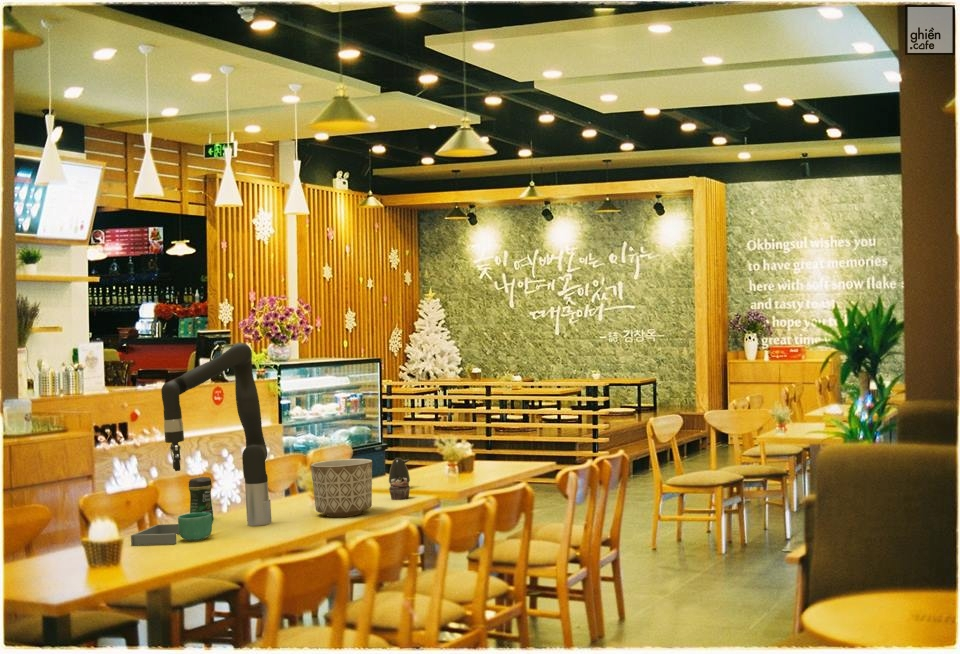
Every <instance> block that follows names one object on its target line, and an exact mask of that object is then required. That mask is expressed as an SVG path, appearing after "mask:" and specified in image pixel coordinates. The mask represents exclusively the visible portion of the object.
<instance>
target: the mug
mask: <svg viewBox="0 0 960 654" xmlns="http://www.w3.org/2000/svg"><path fill="white" fill-rule="evenodd" d="M214 520H215V519H214V514H213V515H212V514H211V513H190V512H189V513H185V514H181V515H178V516H177V524H178V528H179V534H178V535H179V536H180V537H181V538H182V539H183V540H186V541H187V542H198V541H203V540H206V538H208V537H210V536H211V534H212V532H213V524H214Z"/></svg>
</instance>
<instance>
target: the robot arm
mask: <svg viewBox="0 0 960 654" xmlns="http://www.w3.org/2000/svg"><path fill="white" fill-rule="evenodd" d="M252 356H253V352H252V348H251V347H250V346H249V345H248V344H246V343H244V342H237V343H234V344H233V345H232V346H231V347H230V348H229V349H227V350H226V351H225V352H223V353H222V354H220V355H218V356H217V357H215V358H213V359H212V360H209V361H207V362H205V363H203V364H200V365H198V366H196V367H194V368H193V369H190V370H188V371H186V372H184V373H183V374H182V375H180V376H178V377H176V378H174V379H170V380H169V381H167V382H165V383H164V384H163V385H162V387H161V391H160V392H161V398H162V399H161V401H162V404H163V429H164V433H163V434H164V443H166V444H167V443H168V444H170V447H169V451H170V456H171V461H172V469H174V471H175V472H180V471H181V453H182V452H181V449H182V448H181V445H179V443H181V442H184V441H185V434H184V433H185V432H184V431H185V430H184V425H183V424H184V423H183V416H182V415H183V414H182V408H181V407H182V406H181V404H180V402H181V401H180V395H182V394H184V393H186V392H187V391H189V390H192V389H194V388H197V387H198V386H200V385H202V384H204V383H206V382H208V381H210V380H211V379H213V378H214V377H216V376H218V375H219V374H221V373H223V372H225V371H227V370H229V369H232V368H233V372H234V378H235V379H234V380H235V385H234V386H235V388H234V389H235V402H236V411H237V413H238V414H237V416H238V418H239V421H240V423H241V426H242V429H243V431H244V436H245V448H244V449H243V451H242V457H241V460H242V473H243V478H244V487H245V508H246V522H247V523H246V524H247V526H250V527H257V526H267V525H270V524H271V523H272V522H273V521H272V505H271V504H272V503H271V499H270V497H269V495H270V494H269V481H268V479H269V478H268V477H269V476H268V474H267V470H266V460H267V459H268V449H267V445H266V441H265V438H264V434H263V433H264V432H263V425H262V423H263V422H262V416H261V405H260V400H259V399H260V398H259V393H258V390H257V386H256V382H255V381H256V380H255V379H254V374H253V357H252Z"/></svg>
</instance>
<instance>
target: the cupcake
mask: <svg viewBox="0 0 960 654" xmlns="http://www.w3.org/2000/svg"><path fill="white" fill-rule="evenodd" d="M391 482H392V483H391V486H389V488H388V490H389V494H390V499H391V501H403V500H404V501H405V500H408V499H409V496H410V489H411V488H410V482H409V483H408V482H407V478H405V477H403V478H401V477H397V479H396V478H395V477H394V478H393V479H392V480H391Z"/></svg>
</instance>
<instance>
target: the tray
mask: <svg viewBox="0 0 960 654" xmlns="http://www.w3.org/2000/svg"><path fill="white" fill-rule="evenodd" d="M176 534H177V535H180V534H179V528H178V523H170V524H169V523H168V524H166V523H164V524H163V523H162V524H155V525H152V526H150V527H147V528H145V529H143V530H141V531H138V532H135V533H132V534H131V535H130V544H131V547H132V546H133V547H135V546H137V547H138V546H139V547H140V546H167V545H168V546H170V545H171V546H172V545H173V546H174V545H177V535H176Z"/></svg>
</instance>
